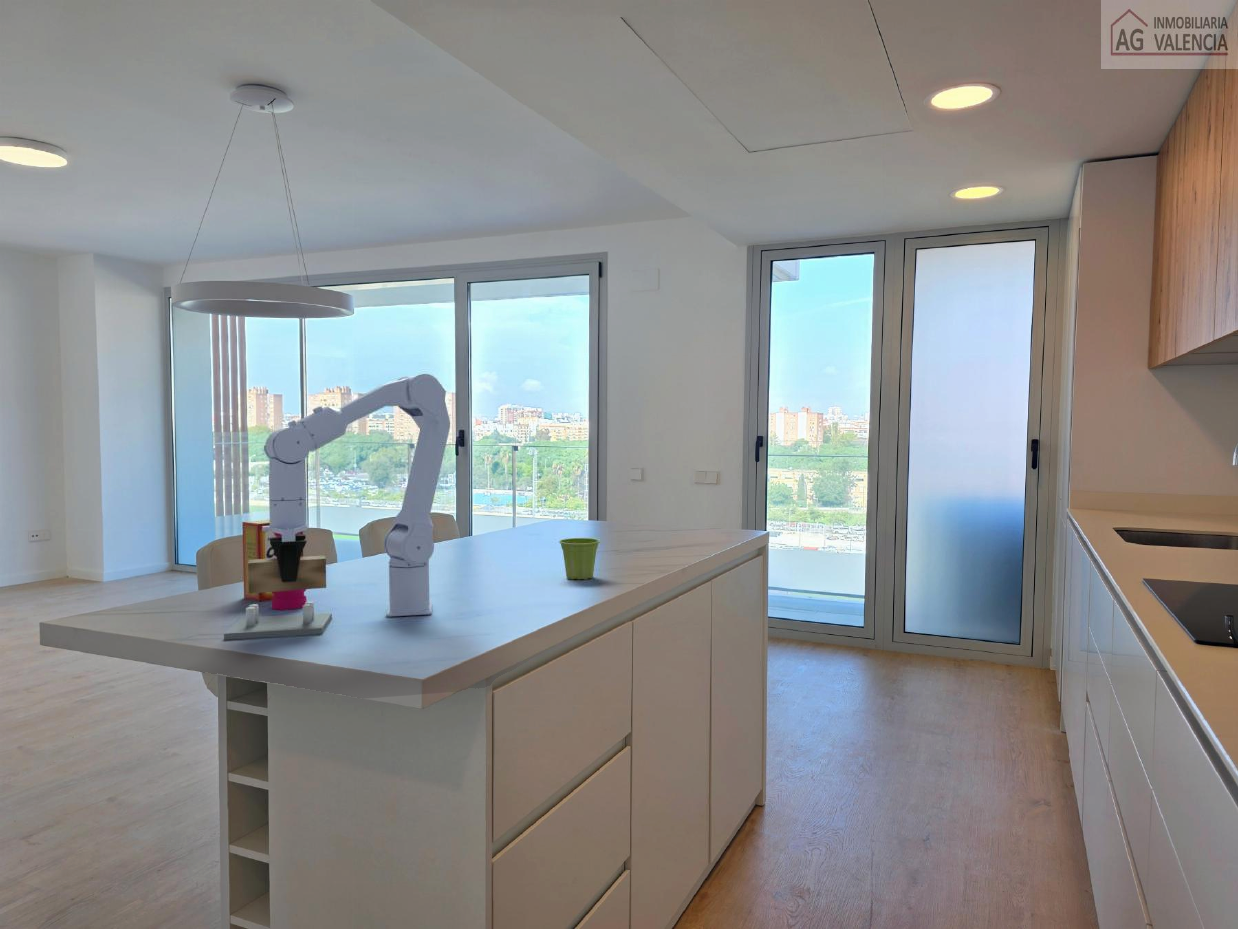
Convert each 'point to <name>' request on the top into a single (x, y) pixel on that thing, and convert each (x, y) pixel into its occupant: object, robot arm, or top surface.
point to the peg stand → (278, 624)
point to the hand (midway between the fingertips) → (289, 579)
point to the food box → (256, 553)
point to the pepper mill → (288, 596)
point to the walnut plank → (269, 579)
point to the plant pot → (579, 557)
